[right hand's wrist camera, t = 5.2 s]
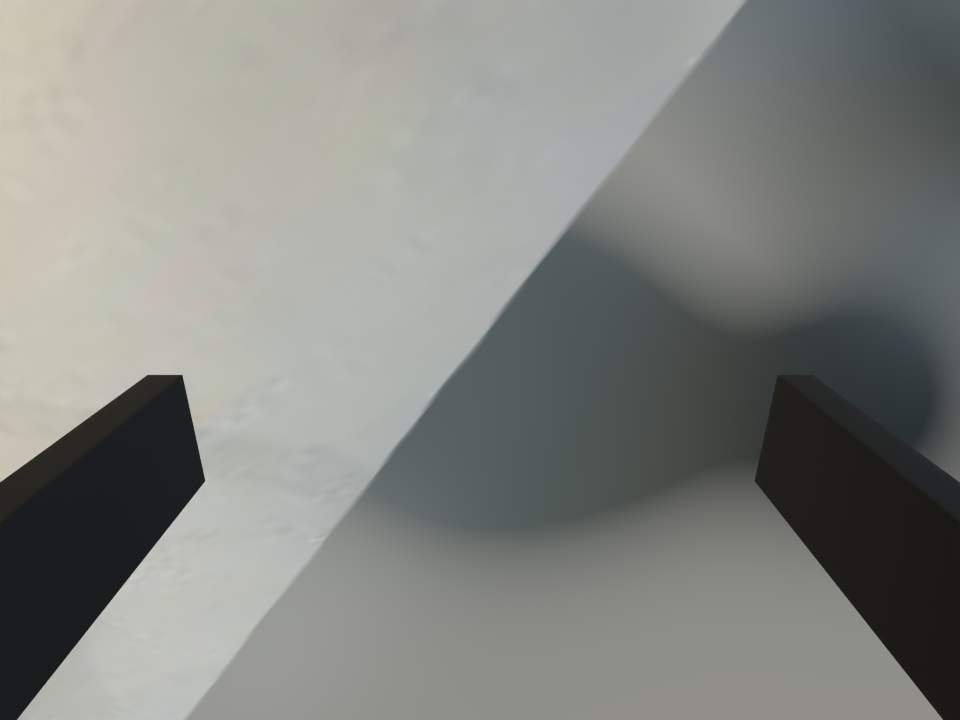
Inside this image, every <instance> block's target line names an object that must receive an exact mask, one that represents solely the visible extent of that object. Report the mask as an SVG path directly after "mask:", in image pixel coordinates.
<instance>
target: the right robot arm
mask: <svg viewBox="0 0 960 720" xmlns="http://www.w3.org/2000/svg"><path fill="white" fill-rule="evenodd" d="M204 482H205V478H204V473H203V468H202V464H201V459H200V455H199V450H198V445H197V441H196V436H195V431H194V427H193V422H192V418H191V413H190V408H189V404H188V399H187V394H186V390H185V385H184V381H183V376H182V375H147V376H146V377H144V378H143V379H142V380H140V381H139V382H137V383H136V384H135V385H133V386H132V387H131V388H129V389H128V390H126V391H125V392H124V393H122V394H121V395H120V396H118V397H117V398H116V399H114V400H113V401H111V402H110V403H109V404H107V405H106V406H105V407H103V408H102V409H100V410H99V411H98V412H96V413H95V414H94V415H92V416H91V417H89V418H88V419H87V420H85V421H84V422H83V423H81V424H80V425H78V426H77V427H76V428H74V429H73V430H72V431H70V432H69V433H67V434H66V435H65V436H63V437H62V438H61V439H59V440H58V441H57V442H55V443H54V444H52V445H51V446H50V447H48V448H47V449H46V450H44V451H43V452H41V453H40V454H39V455H37V456H36V457H35V458H33V459H32V460H30V461H29V462H28V463H26V464H25V465H24V466H22V467H21V468H19V469H18V470H17V471H15V472H14V473H13V474H11V475H10V476H8V477H7V478H6V479H4V480H3V481H2V482H0V720H17V719H18V718H19V716H20V715H21V714H22V712H23V711H24V710H25V709H26V707H27V706H28V705H29V704H30V702H31V701H32V700H33V699H34V697H35V696H36V695H37V693H38V692H39V691H40V690H41V688H42V687H43V686H44V685H45V683H46V682H47V681H48V680H49V678H50V677H51V676H52V674H53V673H54V672H55V671H56V669H57V668H58V667H59V666H60V664H61V663H62V662H63V661H64V659H65V658H66V657H67V655H68V654H69V653H70V652H71V650H72V649H73V648H74V647H75V645H76V644H77V643H78V642H79V640H80V639H81V638H82V636H83V635H84V634H85V633H86V631H87V630H88V629H89V628H90V626H91V625H92V624H93V623H94V621H95V620H96V619H97V617H98V616H99V615H100V614H101V612H102V611H103V610H104V609H105V607H106V606H107V605H108V604H109V602H110V601H111V600H112V598H113V597H114V596H115V595H116V593H117V592H118V591H119V590H120V588H121V587H122V586H123V585H124V583H125V582H126V581H127V579H128V578H129V577H130V576H131V574H132V573H133V572H134V571H135V569H136V568H137V567H138V566H139V564H140V563H141V562H142V560H143V559H144V558H145V557H146V555H147V554H148V553H149V552H150V550H151V549H152V548H153V547H154V545H155V544H156V543H157V541H158V540H159V539H160V538H161V536H162V535H163V534H164V533H165V531H166V530H167V529H168V528H169V526H170V525H171V524H172V522H173V521H174V520H175V519H176V517H177V516H178V515H179V514H180V512H181V511H182V510H183V509H184V507H185V506H186V505H187V503H188V502H189V501H190V500H191V498H192V497H193V496H194V495H195V493H196V492H197V491H198V489H199V488H200V487H201V486H202V484H203V483H204ZM755 482H756V483H757V484H758V486H759V487H760V488H761V489H762V491H763V492H764V493H765V495H766V496H767V497H768V498H769V500H770V501H771V502H772V503H773V505H774V506H775V507H776V508H777V510H778V511H779V512H780V513H781V515H782V516H783V517H784V519H785V520H786V521H787V522H788V524H789V525H790V526H791V527H792V529H793V530H794V531H795V533H796V534H797V535H798V536H799V538H800V539H801V540H802V541H803V543H804V544H805V545H806V546H807V548H808V549H809V550H810V552H811V553H812V554H813V555H814V557H815V558H816V559H817V560H818V562H819V563H820V564H821V565H822V567H823V568H824V569H825V571H826V572H827V573H828V574H829V576H830V577H831V578H832V579H833V581H834V582H835V583H836V585H837V586H838V587H839V588H840V590H841V591H842V592H843V593H844V595H845V596H846V597H847V598H848V600H849V601H850V602H851V603H852V605H853V606H854V607H855V609H856V610H857V611H858V612H859V614H860V615H861V616H862V617H863V619H864V620H865V621H866V623H867V624H868V625H869V626H870V628H871V629H872V630H873V631H874V633H875V634H876V635H877V636H878V638H879V639H880V640H881V641H882V643H883V644H884V645H885V647H886V648H887V649H888V650H889V652H890V653H891V654H892V655H893V657H894V658H895V659H896V661H897V662H898V663H899V664H900V666H901V667H902V668H903V669H904V671H905V672H906V673H907V674H908V676H909V677H910V678H911V680H912V681H913V682H914V683H915V685H916V686H917V687H918V688H919V690H920V691H921V692H922V693H923V695H924V696H925V697H926V699H927V700H928V701H929V702H930V704H931V705H932V706H933V707H934V709H935V710H936V711H937V712H938V714H939V715H940V716H941V718H942V719H943V720H960V482H958V481H957V480H956V479H954V478H953V477H952V476H950V475H949V474H947V473H946V472H945V471H943V470H942V469H940V468H939V467H938V466H936V465H935V464H934V463H932V462H931V461H929V460H928V459H927V458H925V457H924V456H923V455H921V454H920V453H919V452H917V451H916V450H914V449H913V448H912V447H910V446H909V445H908V444H906V443H905V442H903V441H902V440H901V439H899V438H898V437H897V436H895V435H894V434H893V433H891V432H890V431H888V430H887V429H886V428H884V427H883V426H881V425H880V424H879V423H877V422H876V421H875V420H873V419H872V418H871V417H869V416H868V415H866V414H865V413H864V412H862V411H861V410H860V409H858V408H857V407H855V406H854V405H853V404H851V403H850V402H849V401H847V400H846V399H844V398H843V397H842V396H840V395H839V394H838V393H836V392H835V391H834V390H832V389H831V388H829V387H828V386H827V385H825V384H824V383H823V382H821V381H820V380H818V379H817V378H816V377H814V376H813V375H778V376H777V381H776V385H775V390H774V394H773V399H772V404H771V408H770V413H769V418H768V422H767V427H766V431H765V436H764V441H763V445H762V450H761V455H760V459H759V464H758V468H757V473H756V478H755Z"/></svg>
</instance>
